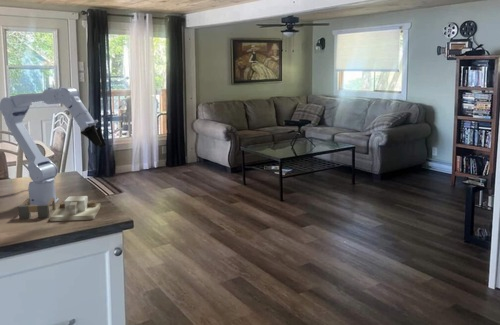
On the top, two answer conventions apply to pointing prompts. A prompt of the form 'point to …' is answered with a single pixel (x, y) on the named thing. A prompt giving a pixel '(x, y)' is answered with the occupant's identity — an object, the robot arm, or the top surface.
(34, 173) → the robot arm
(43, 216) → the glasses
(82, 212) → the stand
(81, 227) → the top surface
